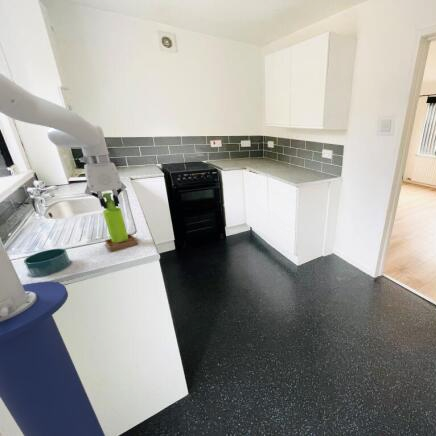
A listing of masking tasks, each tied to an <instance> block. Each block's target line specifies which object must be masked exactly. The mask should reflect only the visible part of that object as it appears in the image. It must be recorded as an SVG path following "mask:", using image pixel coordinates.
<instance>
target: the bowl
mask: <svg viewBox="0 0 436 436" xmlns="http://www.w3.org/2000/svg"><path fill="white" fill-rule="evenodd" d="M23 263H24V265H25V269H26V270H27V272H28V274H29V276H31V277H36V278H37V277H45V276H49V275H53V274H55V273H58V272H61V271H63V270H65V269H67V268H68V267H69V266H70V265H71V260H70V257H69V255H68V251H67V250H66V249H65V248H52V249H46V250H43V251H39V252H37V253H34V254H32V255H29V256H28V257H26V258H25V259H24V260H23Z"/></svg>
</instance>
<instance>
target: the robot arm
mask: <svg viewBox="0 0 436 436" xmlns="http://www.w3.org/2000/svg"><path fill="white" fill-rule="evenodd" d="M0 113H1V114H3V115H4V116H6V117H9V118H10V119H12V120H15V121H19V122H22V123H26V124H31V125H36V126H40V127H41V126H42V127H46V128H48V130H47V137H48V139H49V140H50V142H51V143H52V144H53V145H55V146H57V147H59V148H63V149H64V148H66V149H78V148H81V151H82V154H83V157H80V158H79V162H80V163H84V166H83V167H84V168H83V169H84V175H85V180H86V187H85V189H84V194H85V195H89V196H93V197H95V198H97V199H98V201H99V204H100V207H101V208H103V209H104V210H106V208H107V206H106V203H105V202H106V198H102V196H103V192H106V191H111V193H112V200H113V201H115V205H116V208H119V204H120V203H121V202H120V199H119V195H120V194H121V193H122V191H124V190H126V189H127V186H126V184H124V183H123V182H122V181H121V177H120V175H119V172H118V169H117V167H116V164H115V163H114V162H112V161H111V157H110V153H109V149H108V146H107V142H106V138H105V135H104V131H103V128H102V127H101V125H96V124H92V123H91V122H89V121H88V120H87V119H86V118H84V117H82V116H81V115H79V114H78V113H76V112H74V111H72V110H70V109H69V108H66V107H64V106H61V105H59V104H56V103H54V102H52V101H49V100H47V99H45V98H42V97H39V96H37V95H35V94H33V93H32V92H29V90H26V89H24V88H23V87H22V86H20V85H19V84H17V83H16V82H15V81H13V80H11V79H10V78H8V77H7V76H5V75H4V74H3V73H1V72H0ZM22 285H23V284H22V281H21V278H19V275H18V273H17V270H16V269H15V267H14V264H13V263H12V260H11V258H10V256H9V254H8V252H7V250H6V248H5V245H4V243H3V241H2V238H1V237H0V322H1V321H4V320H7V319H9V318H11V317H14V316H16V315H18V314H20V313H21V312H23V311H25V310H26V309H28V308H29V307H31V306H32V305H33V304H34V303H35V301H36V300H37V296H36V294H35V293H34V292H28V291H25V290H24V288H23V286H22Z"/></svg>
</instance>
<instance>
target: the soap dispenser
mask: <svg viewBox="0 0 436 436" xmlns="http://www.w3.org/2000/svg"><path fill="white" fill-rule="evenodd" d="M102 198H104V199H105V203H106V206H107V208H106V209H104V210H103V211H102V213H103V218H104V220H105V223H106V227H107V231H108V235H109V237H110V239H111V241H112V242H121V241H124V240H126V239H128V231H127V228H126V224H125V219H124V216H123V213H122V209H121V207H117V206H116V205H115V201H114V200H113V198H112V192H105V193H102Z"/></svg>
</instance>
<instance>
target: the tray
mask: <svg viewBox="0 0 436 436" xmlns="http://www.w3.org/2000/svg"><path fill="white" fill-rule="evenodd" d="M127 235H128V239H126V240H124V241H121V242H112V241H111V238H108V239H104V243H105V245H106V247H107V249H108V250H109V251H110V253H112V252H115V251H118V250H122V249H125V248H130V247H133V246H136V245H138V242H137V239H136V238H135V236H133V235H132V233H127Z"/></svg>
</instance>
